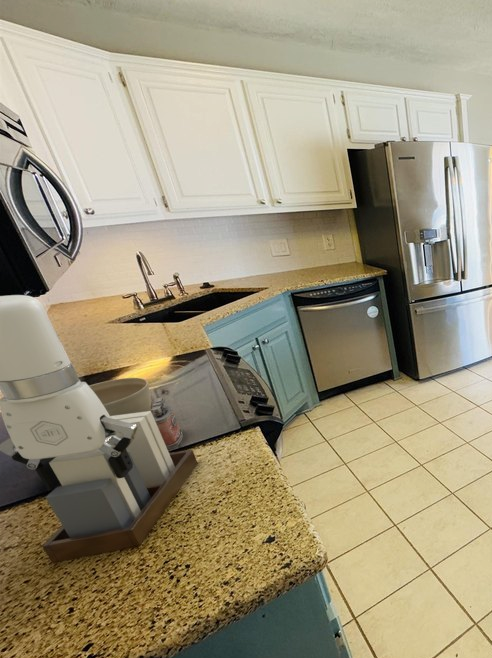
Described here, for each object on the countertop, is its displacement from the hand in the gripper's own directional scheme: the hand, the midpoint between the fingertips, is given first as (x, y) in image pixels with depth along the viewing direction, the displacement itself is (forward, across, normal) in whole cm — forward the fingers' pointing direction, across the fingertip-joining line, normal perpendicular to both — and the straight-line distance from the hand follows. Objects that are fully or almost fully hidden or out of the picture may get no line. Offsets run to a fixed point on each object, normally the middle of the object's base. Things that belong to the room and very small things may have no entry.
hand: (92, 478), depth 66 cm
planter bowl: (+11, -18, +37) cm, 42 cm away
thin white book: (+11, 0, 0) cm, 11 cm away
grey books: (+11, 0, 0) cm, 11 cm away
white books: (+11, 0, +12) cm, 16 cm away
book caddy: (+11, 0, +6) cm, 12 cm away
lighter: (+11, -4, +29) cm, 31 cm away
